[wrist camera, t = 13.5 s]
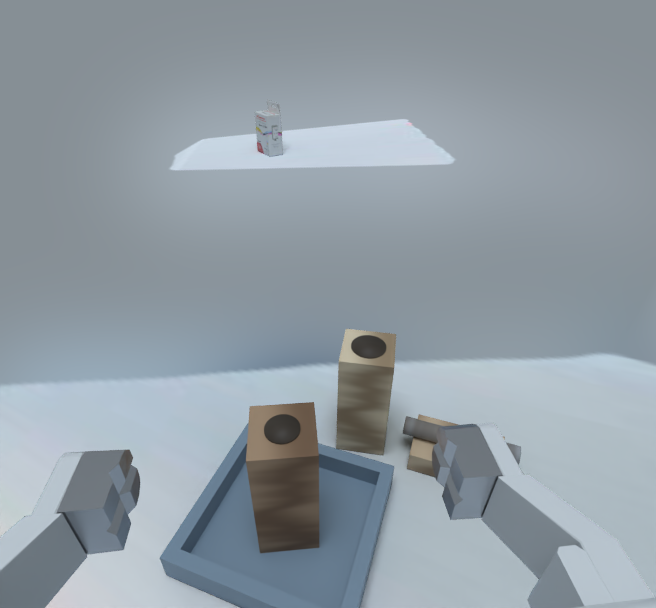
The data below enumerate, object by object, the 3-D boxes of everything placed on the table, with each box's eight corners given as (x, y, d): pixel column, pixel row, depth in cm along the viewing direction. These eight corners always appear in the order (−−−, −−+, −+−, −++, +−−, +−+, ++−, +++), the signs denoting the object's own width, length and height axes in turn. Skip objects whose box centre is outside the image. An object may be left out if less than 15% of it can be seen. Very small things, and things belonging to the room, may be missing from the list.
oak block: (336, 448, 41) (338, 359, 35) (342, 413, 45) (346, 327, 39) (383, 455, 40) (394, 366, 34) (385, 418, 44) (396, 332, 38)
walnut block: (260, 553, 32) (245, 459, 26) (261, 498, 36) (249, 404, 30) (319, 547, 33) (318, 454, 26) (315, 493, 36) (313, 400, 30)
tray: (166, 575, 31) (159, 557, 30) (250, 439, 42) (248, 422, 40) (348, 654, 28) (349, 638, 26) (391, 483, 38) (394, 466, 36)
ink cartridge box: (256, 151, 136) (252, 100, 128) (270, 149, 138) (267, 99, 130) (269, 157, 130) (265, 104, 122) (283, 154, 132) (281, 102, 124)
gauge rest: (396, 465, 39) (400, 439, 37) (406, 425, 43) (410, 400, 41) (511, 499, 37) (521, 474, 35) (510, 453, 41) (520, 428, 39)
